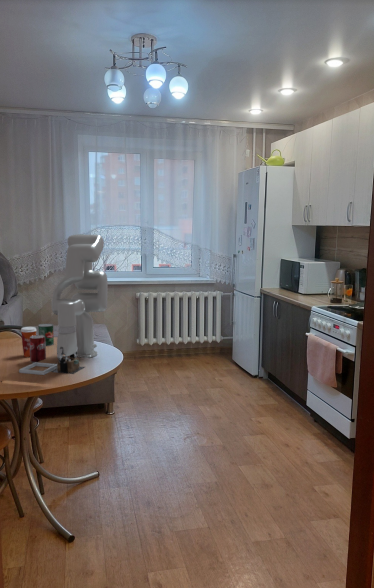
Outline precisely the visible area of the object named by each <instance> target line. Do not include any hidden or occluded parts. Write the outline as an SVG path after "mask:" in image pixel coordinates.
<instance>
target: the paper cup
mask: <svg viewBox="0 0 374 588" xmlns="http://www.w3.org/2000/svg"><path fill="white" fill-rule="evenodd" d="M20 333H21V343H22V352H23V353H22V354H23V357H25V358H30V342H29V338H30V337H31V336H35V335H37V328H36V326H25V327H24V326H23V327H21V329H20Z"/></svg>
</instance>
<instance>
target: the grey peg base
mask: <svg viewBox="0 0 374 588" xmlns="http://www.w3.org/2000/svg"><path fill="white" fill-rule="evenodd" d="M67 361H71V359H70V357H69V358H67ZM83 369H86V366H79V368H78V369H76V370H75V371H73V372H61V371H57V368H56V369H54V370H52V371H50V373H57V374H58V373H59V374H67V375H74V374H76V373H78V372H80V371H81V370H83Z"/></svg>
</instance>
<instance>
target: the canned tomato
mask: <svg viewBox="0 0 374 588" xmlns="http://www.w3.org/2000/svg"><path fill="white" fill-rule="evenodd" d="M37 329H38V335H43V336H45V342H46V347H50V346H53V345H54V344H55V341H54V340H55V339H54V323H39V324H38V328H37Z"/></svg>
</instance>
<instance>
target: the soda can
mask: <svg viewBox="0 0 374 588" xmlns="http://www.w3.org/2000/svg"><path fill="white" fill-rule="evenodd" d="M29 342H30V357H29V359H30V362H31V364H33V363H35V362H37V363H40V362H42V361H44V360H46V359H47V346H46V342H45V336H43V335H39V334H38V335H37V334H36V335H35V336H31V337H30V338H29Z"/></svg>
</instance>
